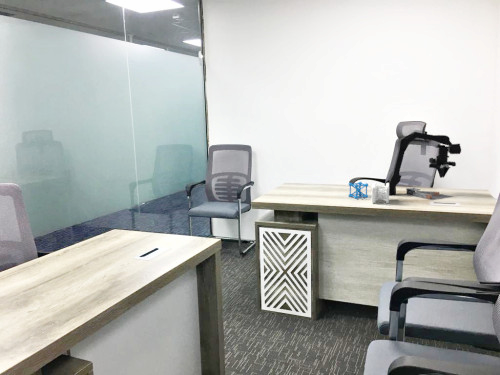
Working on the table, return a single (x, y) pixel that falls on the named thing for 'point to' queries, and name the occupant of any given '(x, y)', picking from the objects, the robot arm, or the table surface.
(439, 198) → the desk mat
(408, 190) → the tong base
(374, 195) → the cable organizer
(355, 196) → the molecular structure
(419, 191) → the tong arm
